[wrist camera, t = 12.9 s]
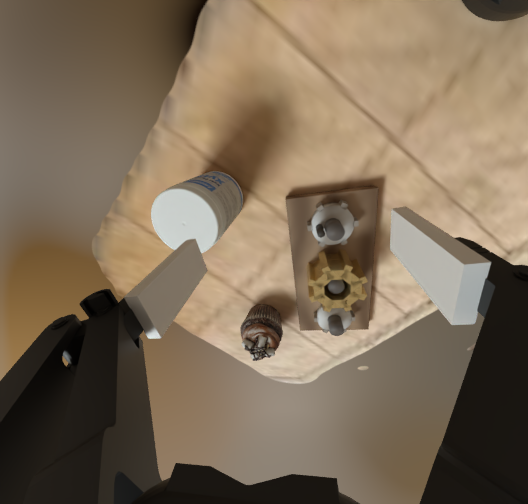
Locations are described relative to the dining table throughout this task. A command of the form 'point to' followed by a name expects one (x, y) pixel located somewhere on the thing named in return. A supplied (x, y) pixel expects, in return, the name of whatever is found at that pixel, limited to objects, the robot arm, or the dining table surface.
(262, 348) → the cupcake
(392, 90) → the dining table surface
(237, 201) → the supplement tub
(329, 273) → the brass gear
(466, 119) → the dining table surface
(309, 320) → the gear board
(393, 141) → the dining table surface
